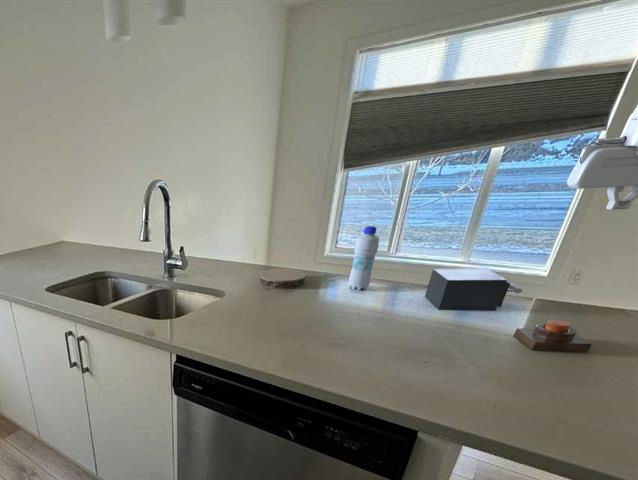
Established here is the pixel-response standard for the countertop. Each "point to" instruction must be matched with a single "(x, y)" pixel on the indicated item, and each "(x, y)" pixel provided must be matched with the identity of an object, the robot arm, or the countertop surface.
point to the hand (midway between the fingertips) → (616, 209)
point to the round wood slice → (282, 278)
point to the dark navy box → (465, 289)
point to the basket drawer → (511, 289)
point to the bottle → (364, 259)
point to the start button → (557, 326)
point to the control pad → (551, 340)
